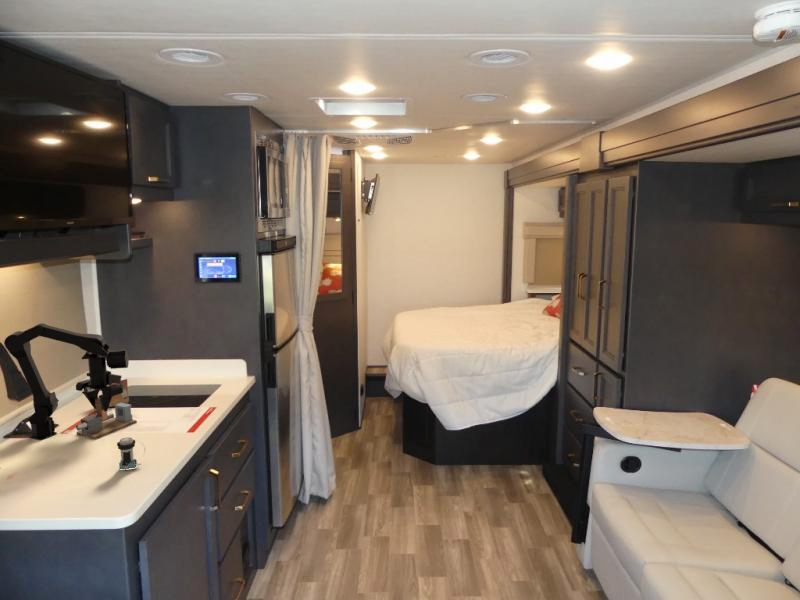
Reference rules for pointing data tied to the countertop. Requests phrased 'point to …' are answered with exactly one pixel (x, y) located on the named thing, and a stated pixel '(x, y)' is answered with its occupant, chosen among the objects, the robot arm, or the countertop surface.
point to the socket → (123, 412)
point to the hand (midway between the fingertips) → (101, 410)
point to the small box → (120, 397)
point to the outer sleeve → (92, 424)
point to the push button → (127, 453)
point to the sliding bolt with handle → (99, 412)
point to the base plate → (109, 428)
